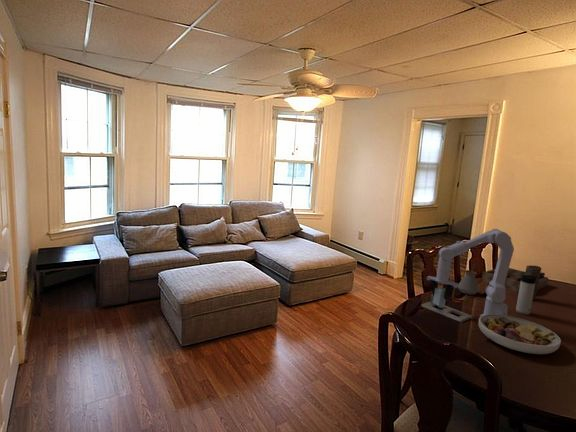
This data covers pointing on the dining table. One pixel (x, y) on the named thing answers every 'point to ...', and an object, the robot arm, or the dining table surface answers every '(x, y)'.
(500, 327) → the bowl
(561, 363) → the dining table surface
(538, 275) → the dark grey canister
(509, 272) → the stereo stand
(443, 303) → the plug
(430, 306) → the panel
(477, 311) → the dining table surface
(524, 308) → the travel mug
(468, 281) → the coffee pot
